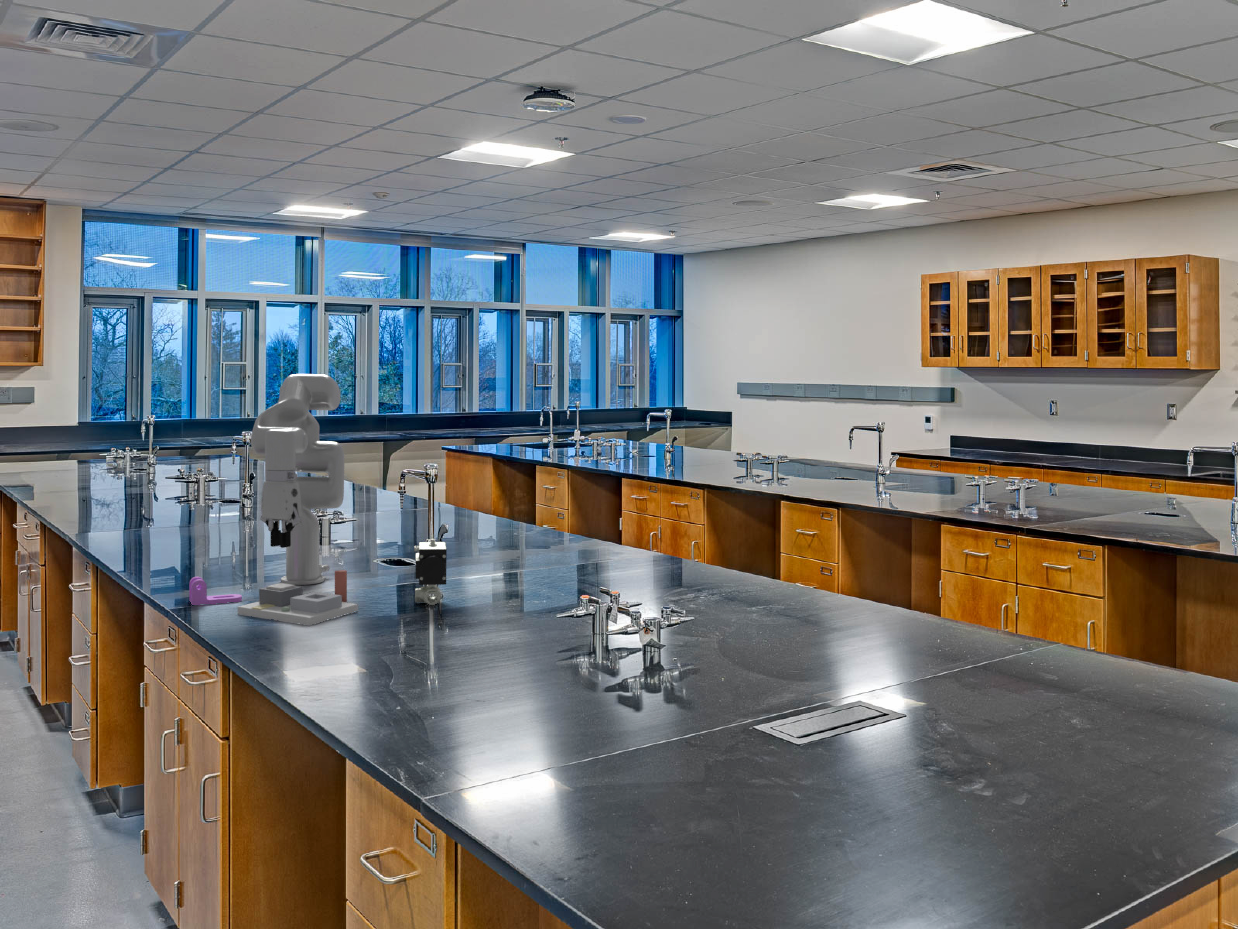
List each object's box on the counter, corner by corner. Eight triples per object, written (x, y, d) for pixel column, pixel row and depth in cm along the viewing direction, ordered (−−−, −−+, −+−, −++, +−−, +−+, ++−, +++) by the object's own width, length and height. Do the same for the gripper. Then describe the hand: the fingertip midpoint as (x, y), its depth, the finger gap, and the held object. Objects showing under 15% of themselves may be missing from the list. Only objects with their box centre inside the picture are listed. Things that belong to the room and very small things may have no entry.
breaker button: (280, 597, 270) (280, 583, 270) (294, 599, 268) (294, 585, 268) (266, 601, 265) (266, 586, 265) (281, 603, 263) (281, 588, 263)
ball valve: (414, 596, 287) (414, 534, 286) (444, 596, 289) (445, 534, 287) (413, 611, 270) (414, 544, 268) (446, 610, 271) (446, 544, 270)
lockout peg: (340, 602, 278) (340, 569, 277) (349, 603, 277) (349, 570, 276) (332, 604, 275) (332, 571, 275) (341, 605, 274) (341, 572, 273)
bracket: (191, 606, 270) (191, 580, 269) (189, 602, 275) (189, 577, 274) (243, 602, 276) (243, 577, 276) (240, 598, 281) (239, 573, 280)
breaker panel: (288, 601, 278) (288, 579, 277) (357, 611, 267) (357, 589, 267) (237, 614, 261) (237, 591, 261) (309, 625, 251) (309, 601, 251)
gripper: (314, 477, 264) (314, 547, 265) (267, 473, 271) (267, 542, 272) (293, 479, 257) (294, 551, 259) (246, 475, 264) (246, 545, 266)
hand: (280, 545), depth 266 cm, fingers open, 2 cm apart
